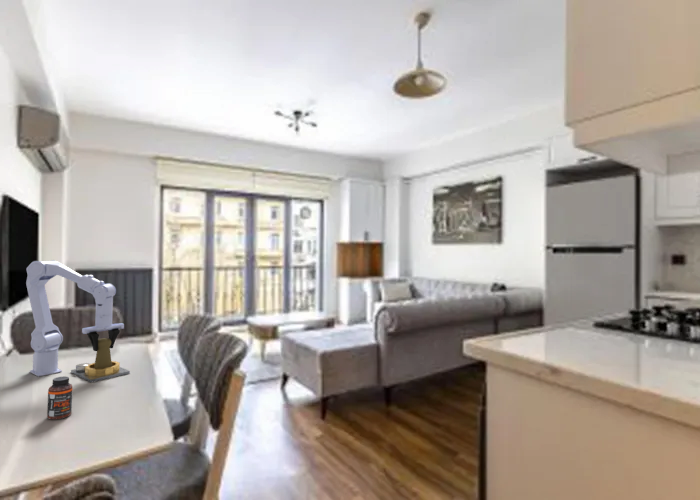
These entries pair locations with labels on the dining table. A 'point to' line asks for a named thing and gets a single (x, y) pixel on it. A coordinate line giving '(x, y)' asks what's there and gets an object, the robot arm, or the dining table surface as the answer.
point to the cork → (103, 354)
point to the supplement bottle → (59, 398)
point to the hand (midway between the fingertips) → (103, 349)
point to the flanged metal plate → (98, 371)
